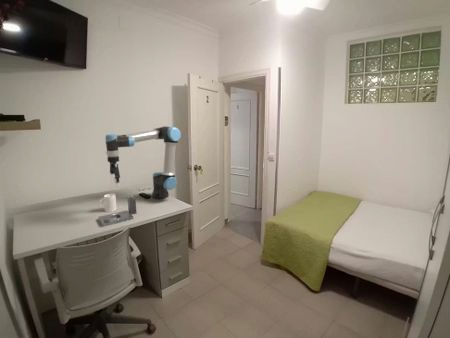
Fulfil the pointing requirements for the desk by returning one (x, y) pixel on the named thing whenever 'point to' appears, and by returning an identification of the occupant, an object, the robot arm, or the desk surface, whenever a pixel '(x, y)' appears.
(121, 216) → the socket plate
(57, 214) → the desk surface
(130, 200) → the plug
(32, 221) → the desk surface
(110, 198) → the mug
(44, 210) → the desk surface
